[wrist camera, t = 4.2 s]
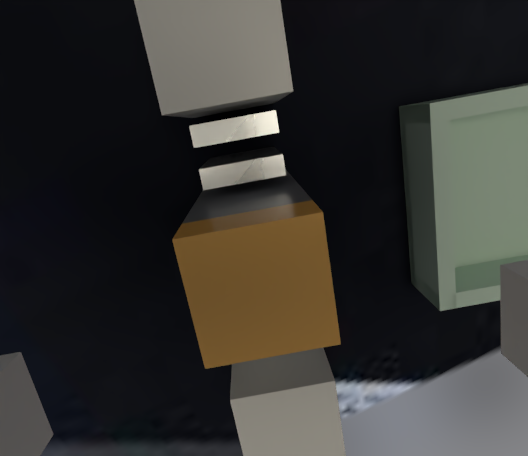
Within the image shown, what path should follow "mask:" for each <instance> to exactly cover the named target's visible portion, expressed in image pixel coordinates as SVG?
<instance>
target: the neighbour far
mask: <svg viewBox="0 0 528 456" xmlns="http://www.w3.org/2000/svg"><path fill="white" fill-rule="evenodd" d="M230 402H231V406H232V410H233V414H234V418H235V423H236V427H237V431H238V435H239V439H240V443H241V447H242V452H243V456H346V454H345V447H344V440H343V434H342V426H341V419H340V412H339V405H338V399H337V392H336V385H335V380H334V377H333V374H332V371H331V368H330V365H329V362H328V360H327V357H326V354H325V351H324V348H317V349H312V350H306V351H301V352H295V353H290V354H284V355H279V356H273V357H268V358H262V359H257V360H251V361H246V362H240V363H235V364H232V373H231V392H230Z"/></svg>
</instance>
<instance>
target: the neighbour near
mask: <svg viewBox="0 0 528 456" xmlns="http://www.w3.org/2000/svg"><path fill="white" fill-rule="evenodd" d="M134 2H135V6H136V10H137V14H138V19H139V23H140V27H141V31H142V35H143V39H144V43H145V48H146V52H147V56H148V60H149V64H150V68H151V73H152V77H153V81H154V85H155V89H156V93H157V97H158V102H159V106H160V110H161V114H162V115H165V116H176V117H187V118H196V117H202V116H207V115H212V114H218V113H223V112H229V111H234V110H240V109H245V108H251V107H256V106H262V105H267V104H273V103H276V102H277V101H279V100H280V99H282V98H283V97H285V96H287V95H288V94H290V93H291V92H293V85H292V79H291V72H290V65H289V58H288V51H287V44H286V37H285V30H284V23H283V17H282V10H281V3H280V0H134Z"/></svg>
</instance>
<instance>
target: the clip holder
mask: <svg viewBox="0 0 528 456" xmlns="http://www.w3.org/2000/svg"><path fill="white" fill-rule="evenodd" d="M189 128H190V133H191V137H192V142H193V146H194V148H197V147H202V146H208V145H213V144H219V143H224V142H230V141H235V140H241V139H246V138H252V137H257V136H263V135H268V134H274V133H279V127H278V121H277V114H276V110H273V111H268V112H262V113H257V114H251V115H246V116H240V117H235V118H229V119H224V120H218V121H213V122H207V123H202V124H196V125H191V126H189ZM199 173H200V178H201V182H202V187H203V190H208V189H213V188H219V187H224V186H230V185H235V184H241V183H246V182H252V181H257V180H263V179H268V178H274V177H279V176H285V175H286V171H285V165H284V158H283V154H282V153H281V152H280V151H278V150H277V149H276V148H275V147H274V146H272V147H267V148H261V149H256V150H250V151H245V152H239V153H234V154H228V155H223V156H217V157H212V158H209V159H208V160H207V161H206V163H205V164H204V165H203V166H202V167H201V168H200V169H199Z"/></svg>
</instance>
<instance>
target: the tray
mask: <svg viewBox="0 0 528 456" xmlns="http://www.w3.org/2000/svg"><path fill="white" fill-rule="evenodd" d="M399 115H400V129H401V143H402V157H403V171H404V185H405V199H406V213H407V227H408V241H409V255H410V269H411V283H412V284H413V285H414V286H415V287H416V288H417V289H418V290H419V291H420V292H421V293H422V294H423V295H424V296H425V297H426V298H427V299H428V300H429V301H430V302H431V303H432V304H433V305H434V306H435V307H436V308H437V309H438V310H440V311H443V310H448V309H453V308H459V307H464V306H470V305H475V304H481V303H486V302H492V301H497V300H501V291H500V265H502V264H507V263H513V262H518V261H524V260H528V83H525V84H520V85H514V86H509V87H503V88H498V89H492V90H487V91H481V92H476V93H470V94H465V95H459V96H454V97H448V98H443V99H437V100H432V101H426V102H421V103H415V104H410V105H404V106H399Z"/></svg>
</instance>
